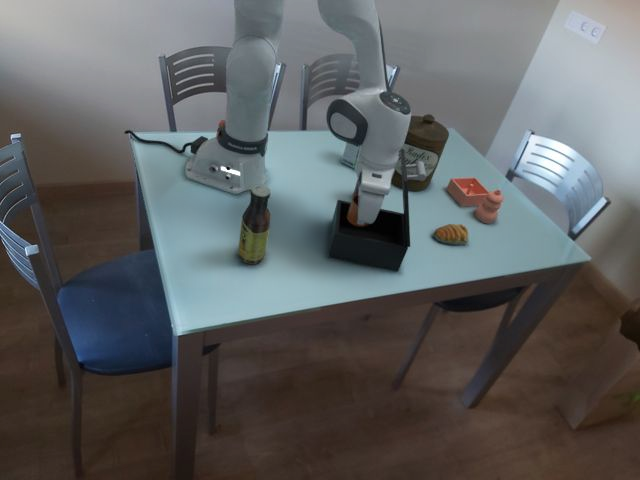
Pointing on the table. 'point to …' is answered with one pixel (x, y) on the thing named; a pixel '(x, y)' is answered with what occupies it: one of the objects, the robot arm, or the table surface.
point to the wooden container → (421, 150)
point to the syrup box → (350, 155)
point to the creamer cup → (354, 212)
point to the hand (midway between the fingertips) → (360, 213)
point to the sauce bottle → (255, 226)
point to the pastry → (452, 234)
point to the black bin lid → (420, 175)
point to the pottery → (476, 197)
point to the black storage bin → (368, 239)
